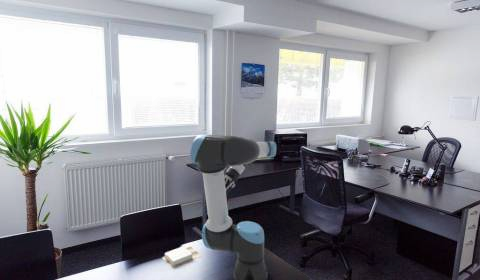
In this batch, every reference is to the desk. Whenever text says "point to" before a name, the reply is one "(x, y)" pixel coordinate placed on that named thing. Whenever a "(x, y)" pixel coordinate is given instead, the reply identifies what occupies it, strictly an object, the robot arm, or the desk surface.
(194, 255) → the board
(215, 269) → the desk surface
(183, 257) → the tile
